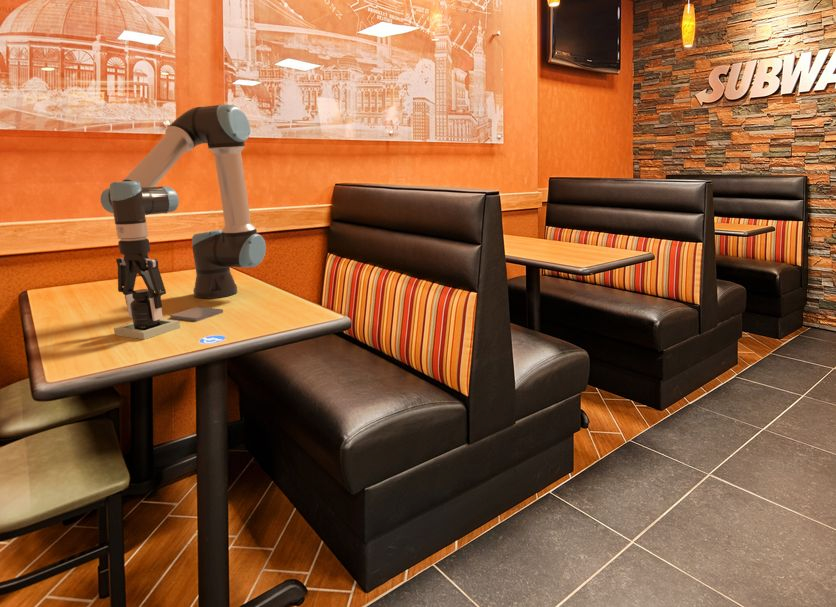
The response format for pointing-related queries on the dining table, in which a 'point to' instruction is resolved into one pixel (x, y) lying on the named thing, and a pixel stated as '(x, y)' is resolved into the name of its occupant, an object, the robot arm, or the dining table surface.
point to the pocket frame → (144, 334)
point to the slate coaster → (196, 313)
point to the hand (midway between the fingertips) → (145, 317)
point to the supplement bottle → (142, 310)
